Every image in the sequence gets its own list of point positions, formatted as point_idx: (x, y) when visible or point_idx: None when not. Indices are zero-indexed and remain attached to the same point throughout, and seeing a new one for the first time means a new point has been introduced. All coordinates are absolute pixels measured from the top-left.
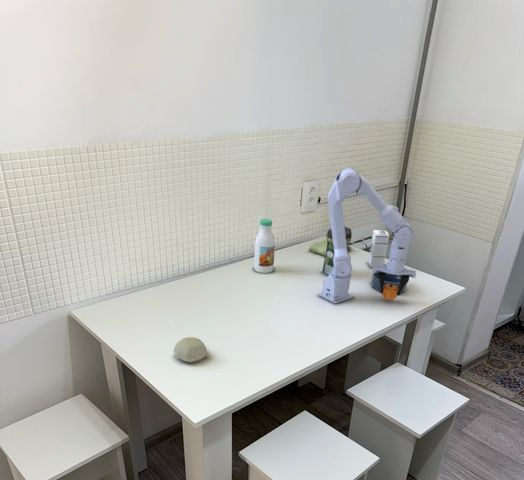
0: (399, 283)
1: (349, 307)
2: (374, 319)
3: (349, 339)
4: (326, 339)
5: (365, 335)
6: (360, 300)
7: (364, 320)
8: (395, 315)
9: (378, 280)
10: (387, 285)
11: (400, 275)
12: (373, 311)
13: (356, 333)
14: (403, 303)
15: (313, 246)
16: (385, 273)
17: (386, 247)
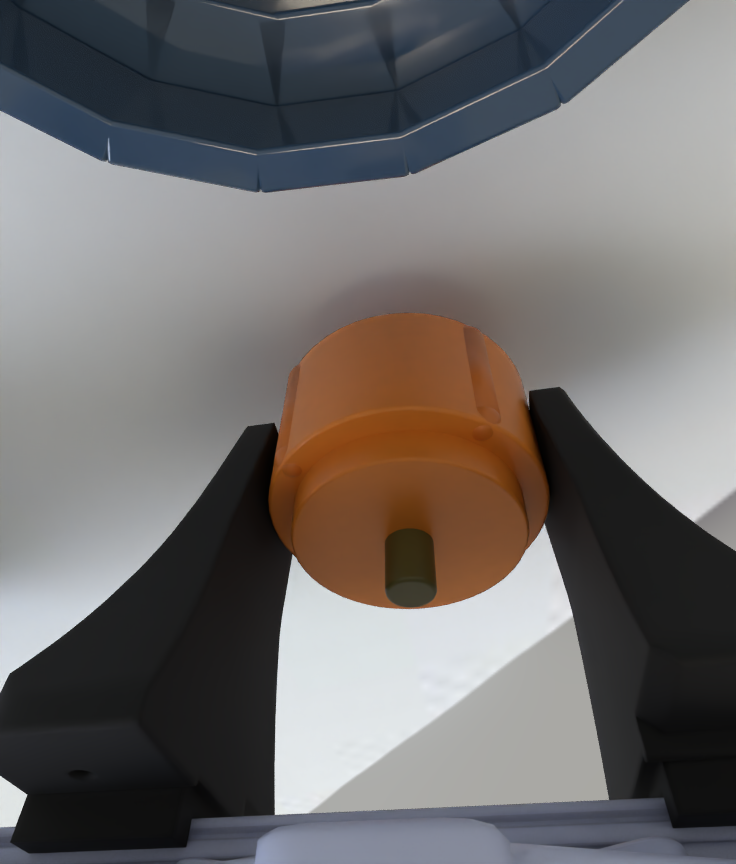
0: (603, 67)
1: (86, 609)
2: (346, 677)
3: (277, 813)
4: None
5: (342, 784)
6: (89, 471)
7: (283, 700)
8: (510, 593)
9: (12, 106)
10: (338, 542)
11: (598, 819)
12: (303, 599)
13: (290, 783)
14: (625, 336)
15: None
16: (222, 838)
17: None
